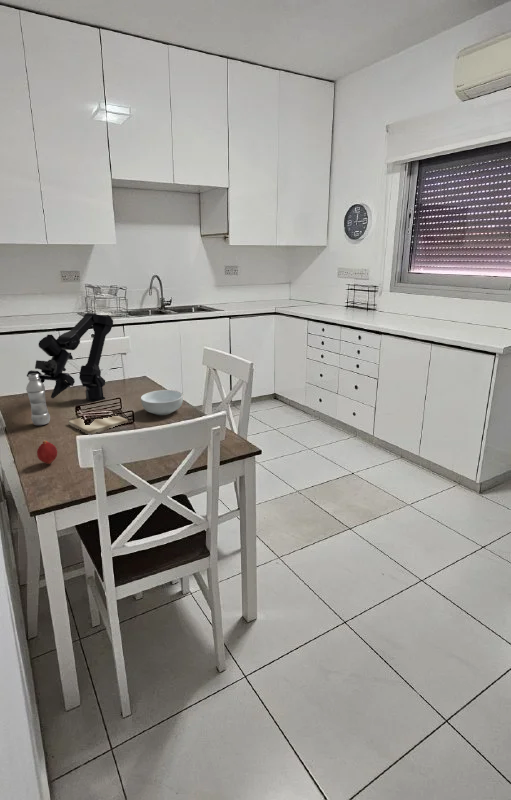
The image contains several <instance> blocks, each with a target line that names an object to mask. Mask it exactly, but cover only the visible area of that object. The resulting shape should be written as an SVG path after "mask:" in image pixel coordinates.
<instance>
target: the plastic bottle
mask: <svg viewBox="0 0 511 800" xmlns="http://www.w3.org/2000/svg"><path fill="white" fill-rule="evenodd" d="M27 378H28V381H29V382H28V383H27V384H26V387H25V390H26V393H27V397H28V399H29V403H30V411H31V421H32V424H33V425H34V426H44V425H47V424H49V423H50V421H51V414H50V412H49V410H48V406H47V402H46V386H45V384H44V382H43V383H42V382H41V381H40V380H39V379H40V377H39V374H38V373H33V374H29V375H28V377H27Z"/></svg>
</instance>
